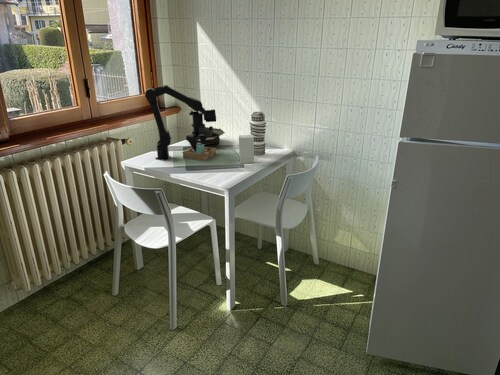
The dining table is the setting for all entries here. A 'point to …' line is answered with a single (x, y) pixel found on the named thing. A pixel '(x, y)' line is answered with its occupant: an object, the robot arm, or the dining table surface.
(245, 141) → the skincare box
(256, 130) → the decorative candle
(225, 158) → the dining table surface
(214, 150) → the walled box
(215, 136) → the stone bowl
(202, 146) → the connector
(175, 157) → the dining table surface
